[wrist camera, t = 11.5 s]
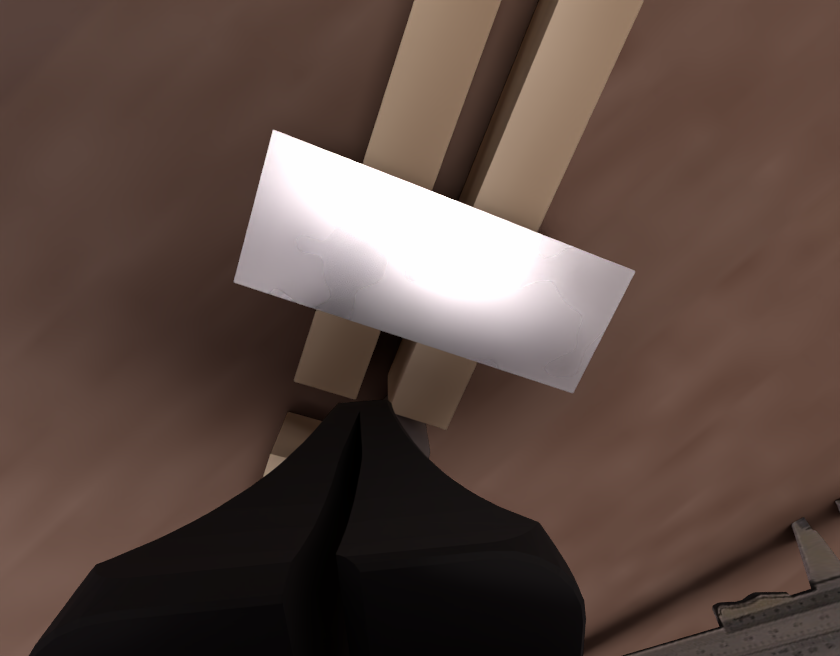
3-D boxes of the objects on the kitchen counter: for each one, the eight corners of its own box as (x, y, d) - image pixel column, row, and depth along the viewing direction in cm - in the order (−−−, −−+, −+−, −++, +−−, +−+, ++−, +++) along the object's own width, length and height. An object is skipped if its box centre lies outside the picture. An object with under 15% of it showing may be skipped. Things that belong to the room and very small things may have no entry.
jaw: (369, 420, 15) (366, 465, 13) (556, -43, 11) (600, -99, 9) (417, 434, 15) (423, 481, 13) (614, -11, 12) (672, -58, 9)
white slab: (286, 245, 13) (233, 282, 9) (314, 146, 12) (273, 129, 8) (513, 324, 14) (572, 393, 10) (551, 239, 14) (635, 271, 9)
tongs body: (256, 509, 16) (235, 563, 14) (449, -93, 11) (465, -161, 9) (374, 537, 17) (372, 594, 14) (603, -14, 12) (655, -59, 10)
